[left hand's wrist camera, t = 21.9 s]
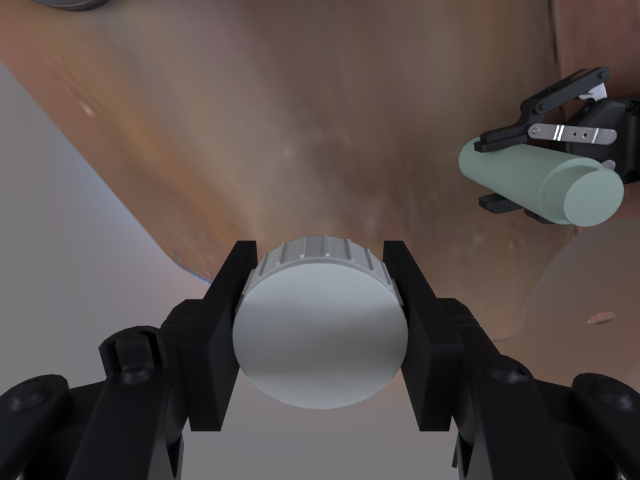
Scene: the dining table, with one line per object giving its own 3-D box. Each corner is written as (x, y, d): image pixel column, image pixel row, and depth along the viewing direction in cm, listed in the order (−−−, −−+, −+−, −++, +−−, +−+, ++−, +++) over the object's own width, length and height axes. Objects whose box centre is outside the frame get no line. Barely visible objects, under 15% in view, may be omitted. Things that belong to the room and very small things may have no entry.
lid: (300, 201, 11) (296, 223, 9) (428, 289, 12) (449, 325, 10) (216, 318, 13) (196, 359, 11) (336, 386, 14) (338, 435, 12)
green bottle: (495, 181, 39) (615, 236, 23) (454, 178, 38) (545, 231, 23) (507, 137, 37) (644, 165, 21) (463, 134, 37) (569, 159, 21)
